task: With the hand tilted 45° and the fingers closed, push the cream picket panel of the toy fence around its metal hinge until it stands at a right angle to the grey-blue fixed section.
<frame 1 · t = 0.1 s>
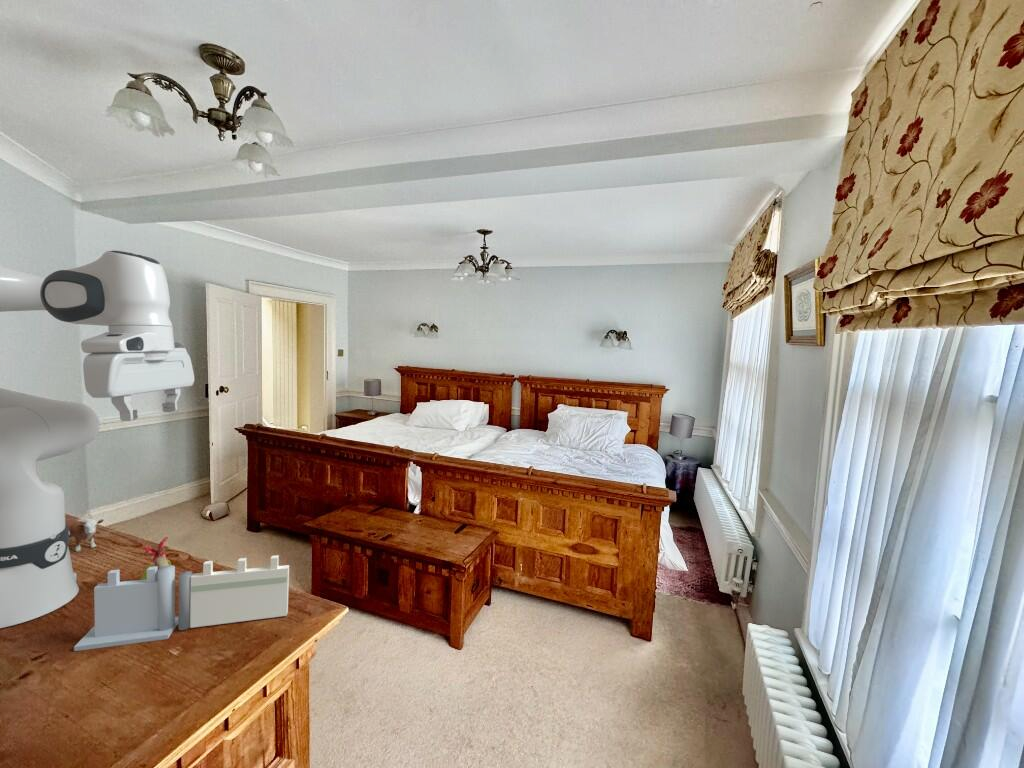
hand: (151, 415, 76), 39 cm above the table, tool pointing down, fingers open, 8 cm apart
bull figurine: (77, 549, 98), on the table
fence section: (185, 627, 76), on the table
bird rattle: (162, 588, 87), on the table
fence panel: (235, 590, 78), point 6 cm above the table, hinge at 0.0°
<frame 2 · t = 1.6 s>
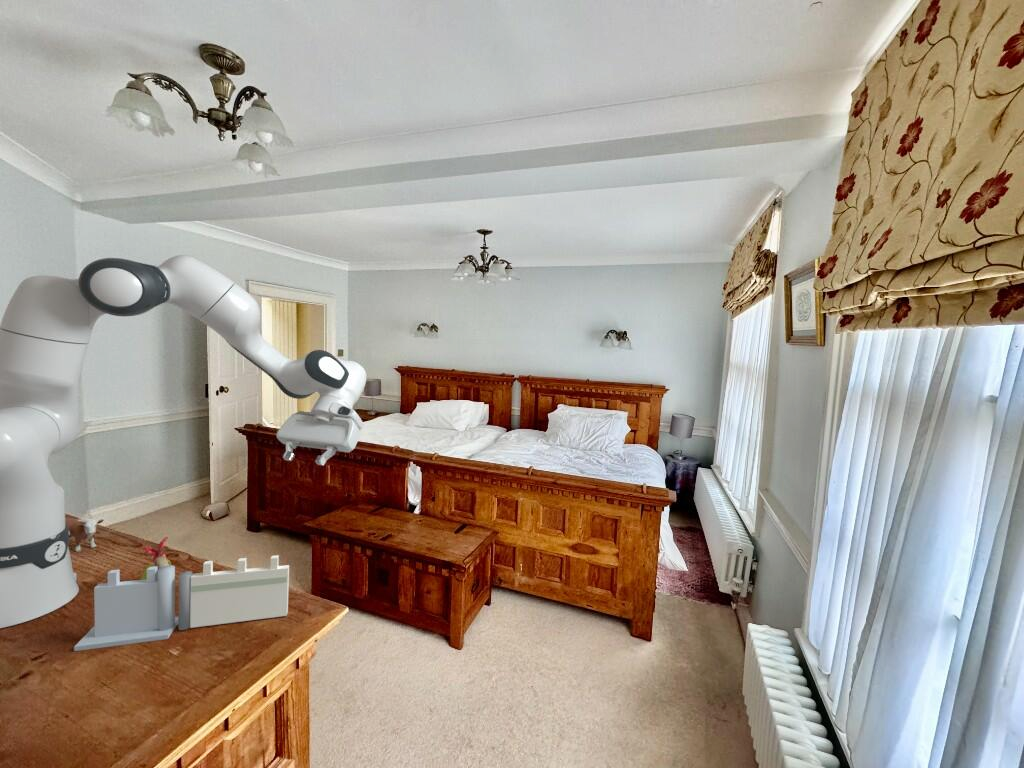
hand: (302, 461, 96), 26 cm above the table, tool tilted 45°, fingers open, 7 cm apart
nothing on the table moved.
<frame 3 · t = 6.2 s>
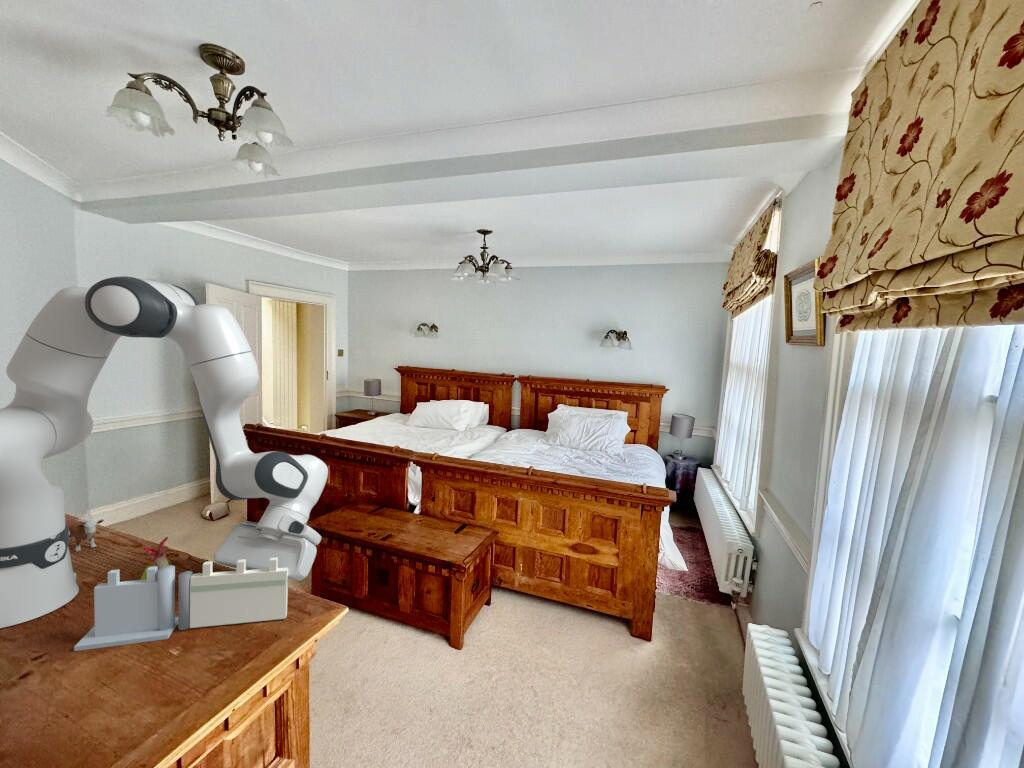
hand: (243, 596, 80), 4 cm above the table, tool tilted 45°, fingers closed
fence panel: (234, 591, 77), point 6 cm above the table, hinge at 3.0°, touching gripper
everything else where it was.
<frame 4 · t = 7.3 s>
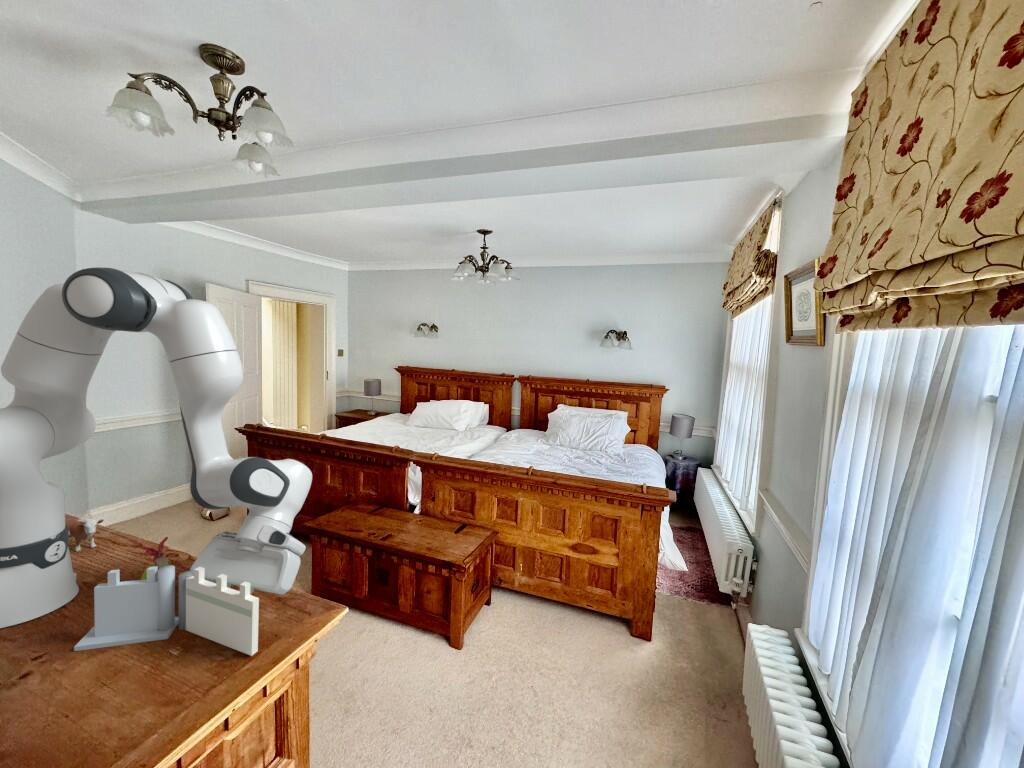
hand: (221, 612, 75), 4 cm above the table, tool tilted 45°, fingers closed
fence panel: (217, 607, 73), point 6 cm above the table, hinge at 36.3°, touching gripper
everything else where it was.
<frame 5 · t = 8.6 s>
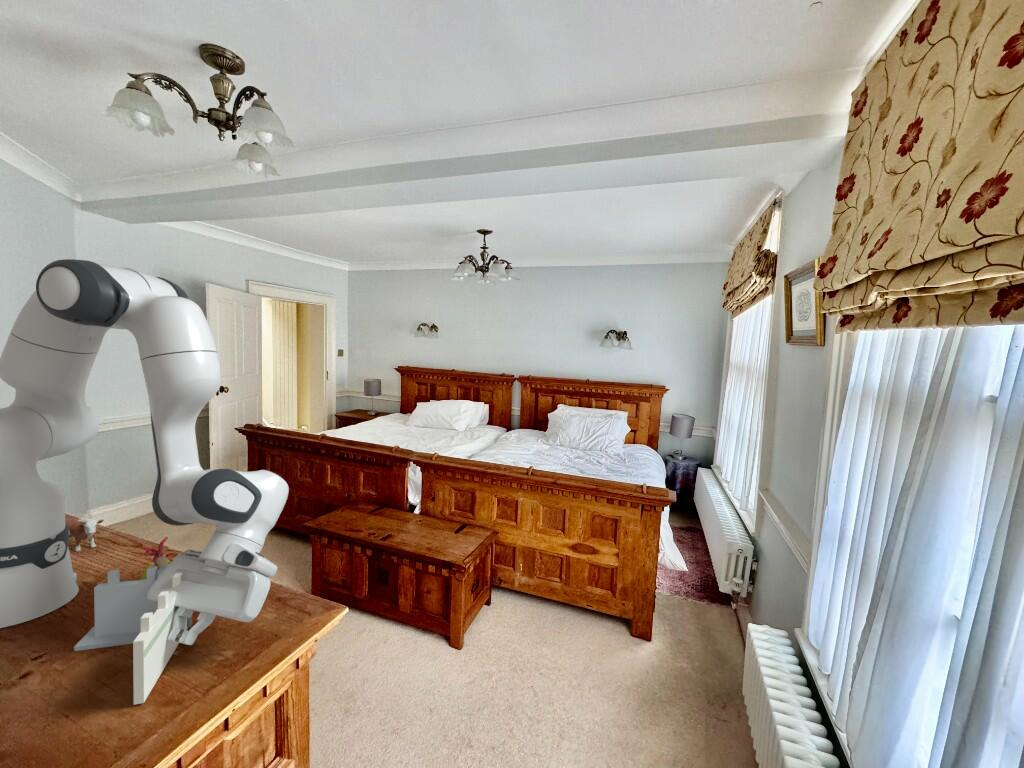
hand: (179, 642, 67), 4 cm above the table, tool tilted 45°, fingers closed
fence panel: (166, 624, 68), point 6 cm above the table, hinge at 88.5°, touching gripper
everything else where it was.
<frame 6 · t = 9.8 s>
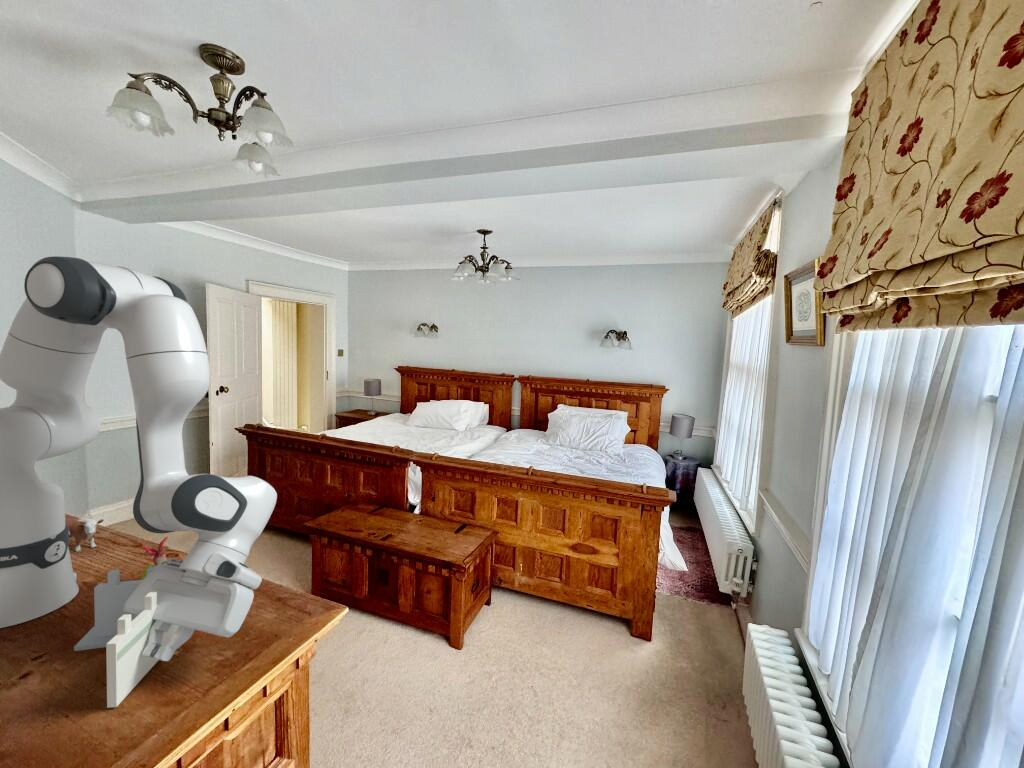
hand: (154, 658, 63), 4 cm above the table, tool tilted 45°, fingers closed
fence panel: (155, 625, 67), point 6 cm above the table, hinge at 99.5°, touching gripper
everything else where it was.
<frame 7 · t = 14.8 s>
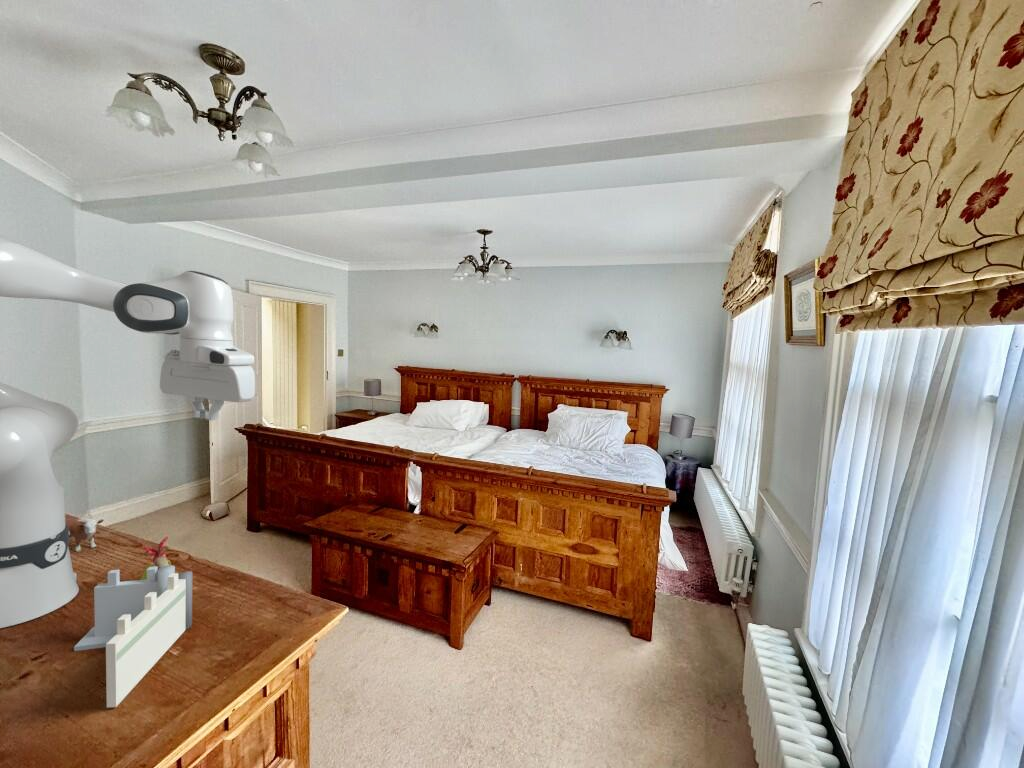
hand: (206, 419, 85), 37 cm above the table, tool pointing down, fingers closed
fence panel: (154, 625, 67), point 6 cm above the table, hinge at 99.7°
everything else where it was.
at the end: fence panel at +100° (first picture: +0°) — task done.
